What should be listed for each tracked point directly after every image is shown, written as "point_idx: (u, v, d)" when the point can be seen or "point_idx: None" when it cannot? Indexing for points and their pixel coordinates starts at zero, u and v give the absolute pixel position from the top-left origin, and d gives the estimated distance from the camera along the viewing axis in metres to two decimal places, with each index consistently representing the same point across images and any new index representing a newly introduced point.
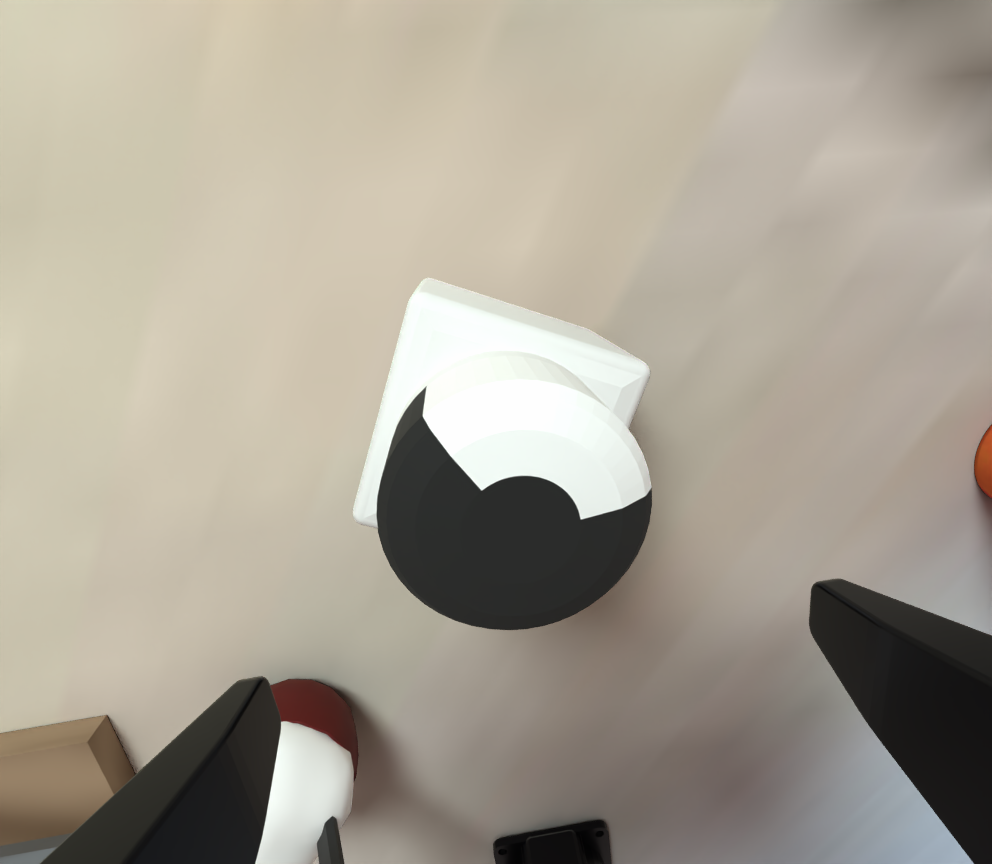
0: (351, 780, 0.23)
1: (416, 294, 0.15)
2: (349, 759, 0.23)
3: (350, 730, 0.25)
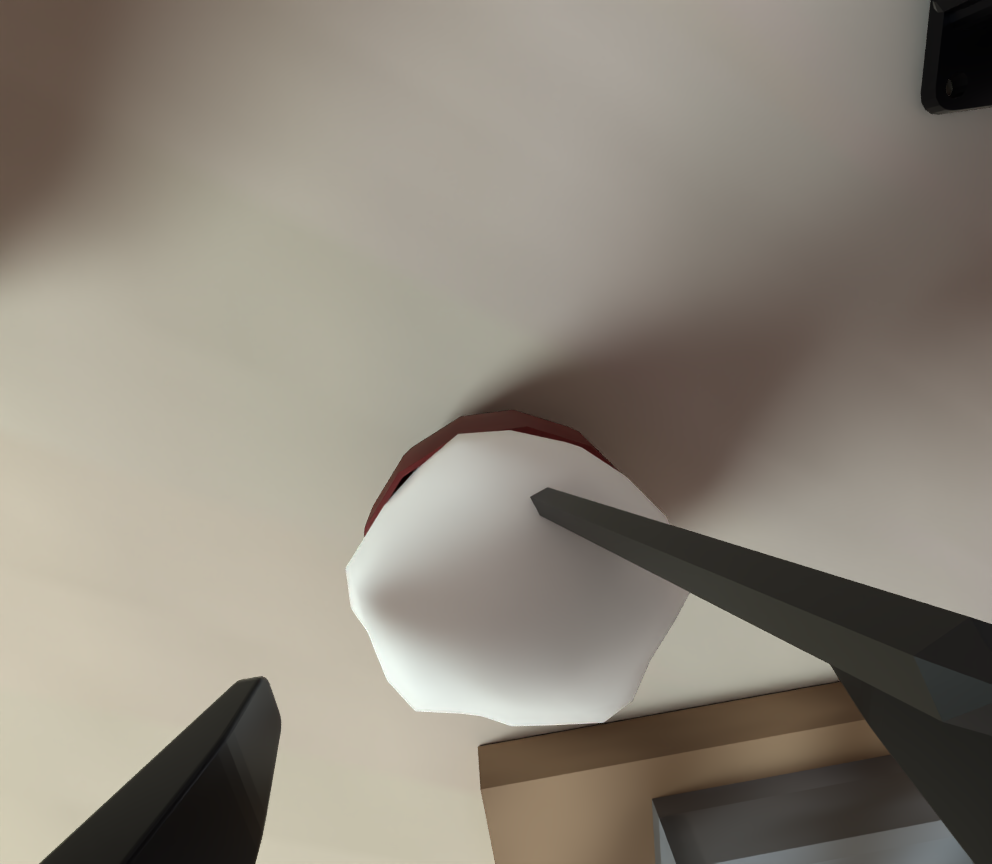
0: (492, 441, 0.10)
1: None
2: (458, 438, 0.10)
3: (451, 425, 0.12)
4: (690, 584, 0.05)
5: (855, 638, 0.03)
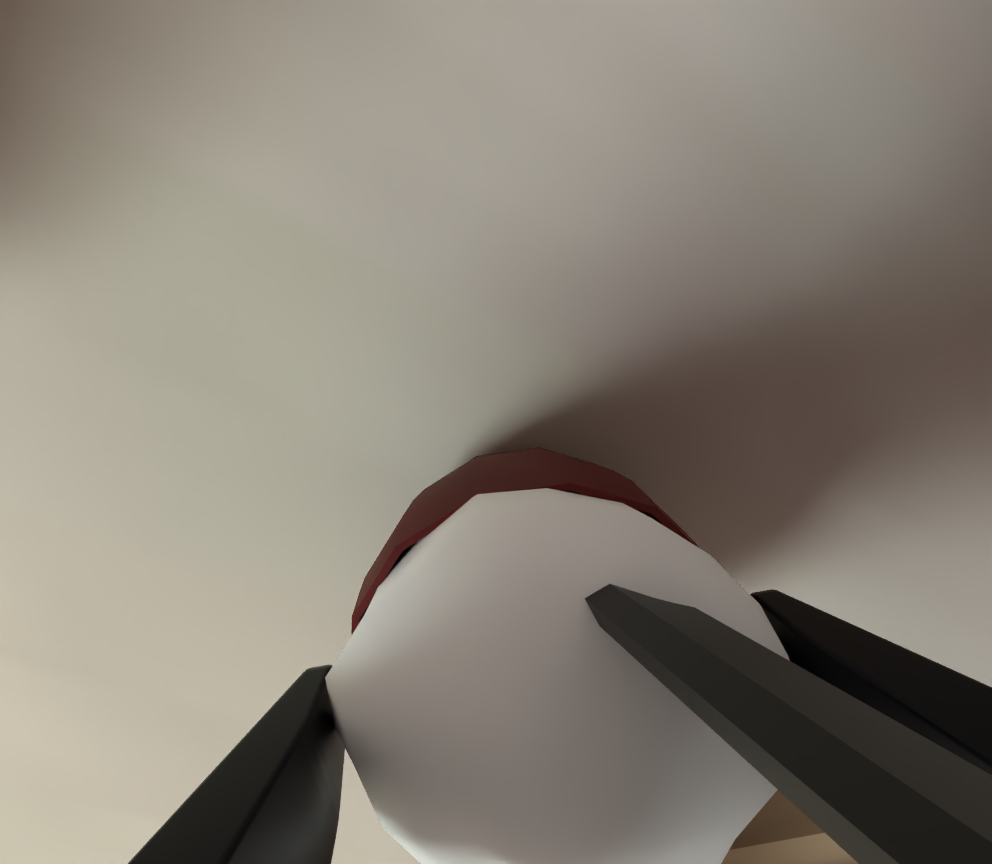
0: (526, 510, 0.07)
1: None
2: (477, 503, 0.08)
3: (466, 475, 0.09)
4: None
5: None
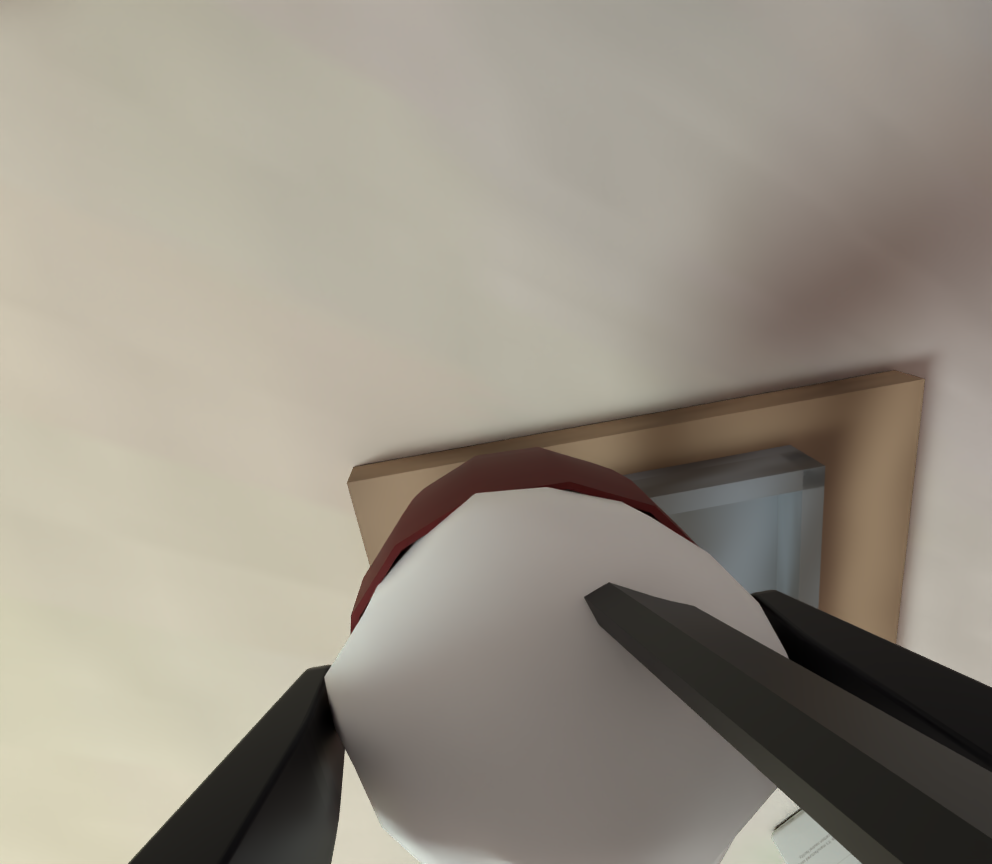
0: (525, 508, 0.07)
1: None
2: (476, 502, 0.08)
3: (465, 474, 0.09)
4: None
5: None
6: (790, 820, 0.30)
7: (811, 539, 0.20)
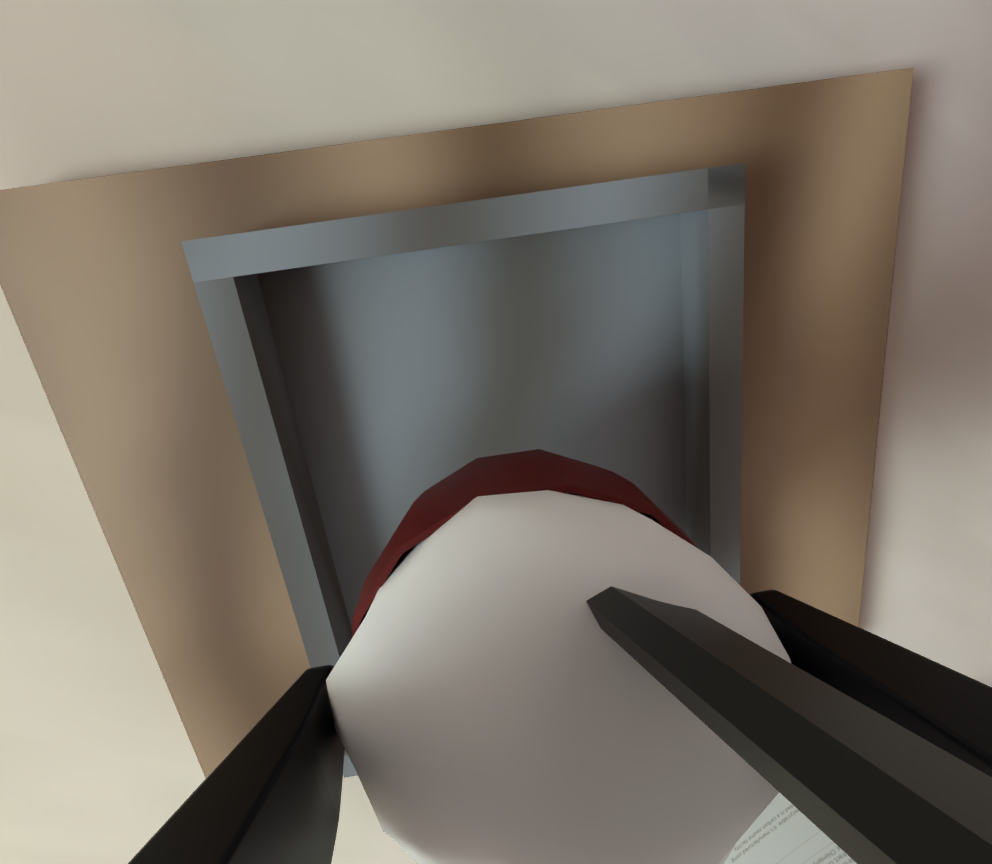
0: (527, 512, 0.07)
1: None
2: (478, 505, 0.08)
3: (466, 477, 0.09)
4: None
5: None
6: None
7: (726, 306, 0.12)
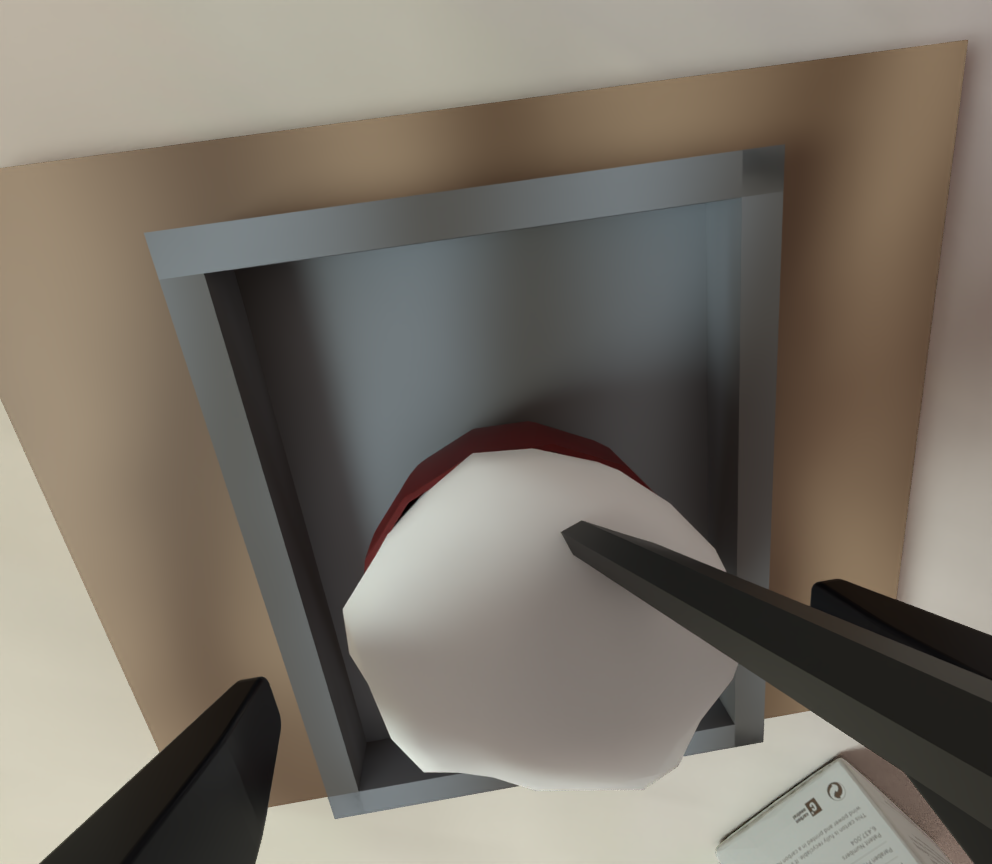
0: (514, 463, 0.09)
1: None
2: (473, 459, 0.09)
3: (463, 441, 0.10)
4: (845, 723, 0.03)
5: None
6: (742, 828, 0.21)
7: (760, 307, 0.11)
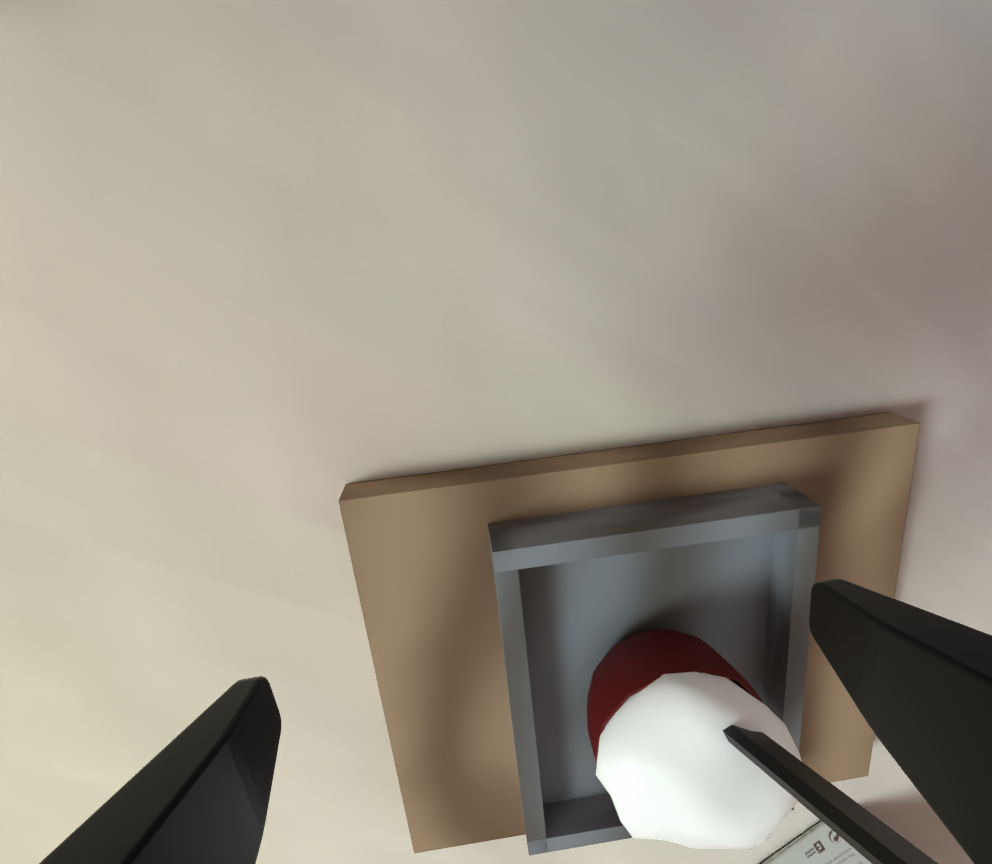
0: (693, 688, 0.17)
1: None
2: (668, 681, 0.18)
3: (648, 656, 0.19)
4: (862, 853, 0.12)
5: None
6: (768, 860, 0.30)
7: (804, 578, 0.20)
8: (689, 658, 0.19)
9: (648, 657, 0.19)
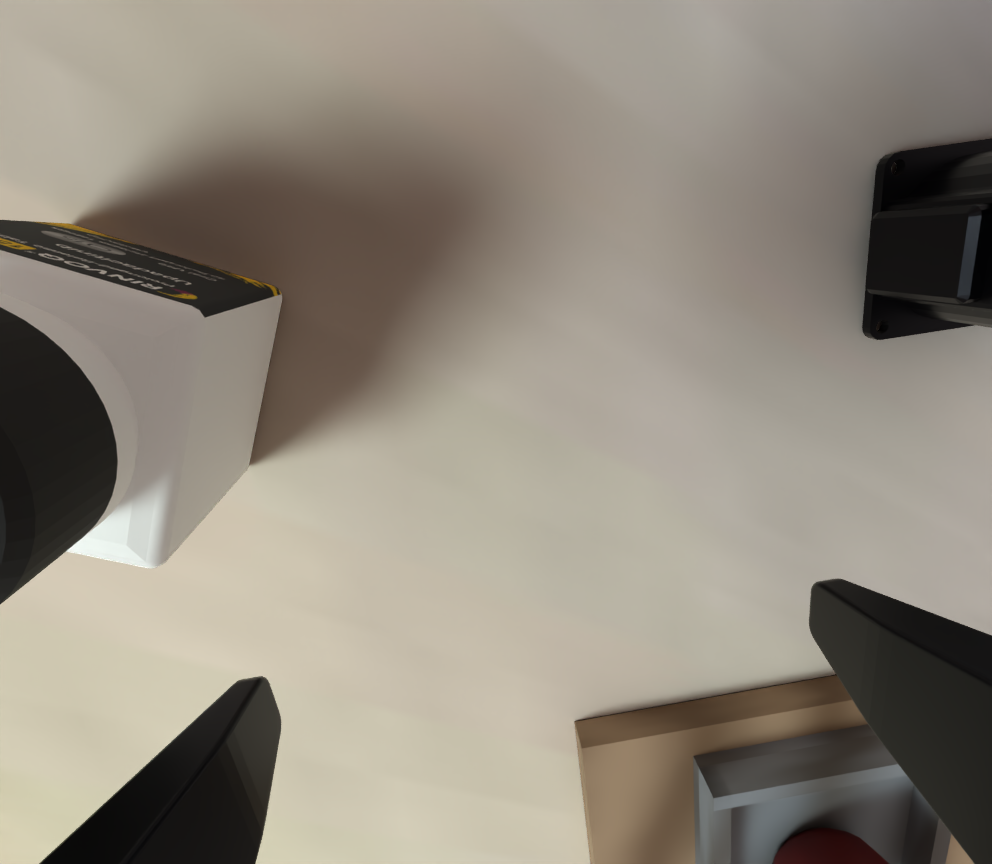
0: None
1: None
2: None
3: None
4: None
5: None
6: None
7: None
8: None
9: None
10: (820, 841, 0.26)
